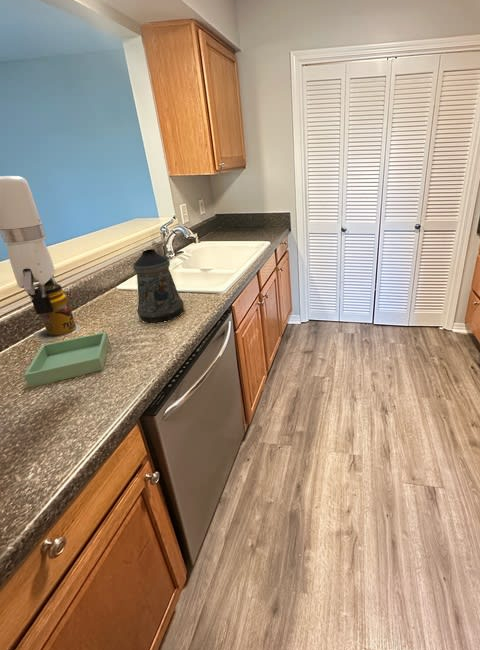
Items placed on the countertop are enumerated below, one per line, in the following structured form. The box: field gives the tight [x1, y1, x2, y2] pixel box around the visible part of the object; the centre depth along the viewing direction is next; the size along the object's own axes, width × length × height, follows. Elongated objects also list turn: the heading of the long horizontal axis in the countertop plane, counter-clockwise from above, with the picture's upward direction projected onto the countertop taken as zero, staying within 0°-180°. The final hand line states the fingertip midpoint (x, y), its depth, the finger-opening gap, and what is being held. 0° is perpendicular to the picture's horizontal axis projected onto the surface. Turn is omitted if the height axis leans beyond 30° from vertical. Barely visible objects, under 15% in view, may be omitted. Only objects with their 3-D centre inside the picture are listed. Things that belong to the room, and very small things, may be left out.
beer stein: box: [132, 248, 185, 324], centre depth 121 cm, size 16×19×25 cm
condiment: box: [33, 283, 83, 344], centre depth 79 cm, size 7×8×12 cm
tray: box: [23, 331, 110, 388], centre depth 96 cm, size 18×17×4 cm
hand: (49, 306), depth 79 cm, fingers closed on condiment, 6 cm apart
